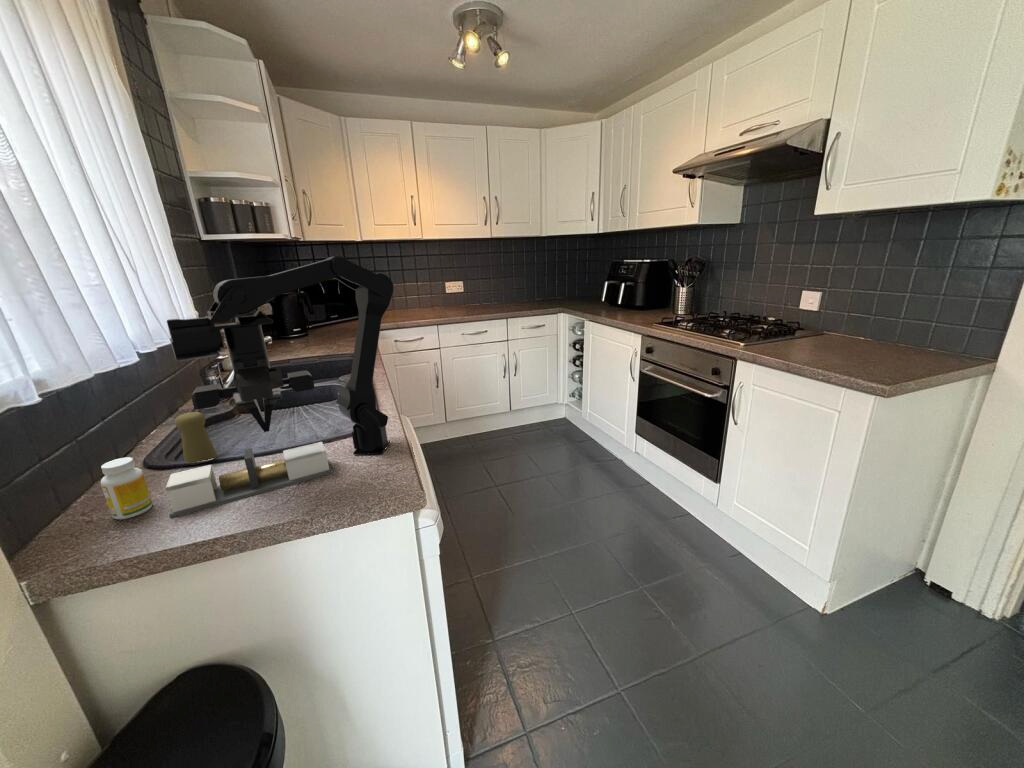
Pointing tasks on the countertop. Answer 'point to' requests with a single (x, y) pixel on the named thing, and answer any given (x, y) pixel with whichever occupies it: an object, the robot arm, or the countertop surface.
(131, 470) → the supplement bottle
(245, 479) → the bolt
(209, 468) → the socket
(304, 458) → the sleeve
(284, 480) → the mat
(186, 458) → the cork
